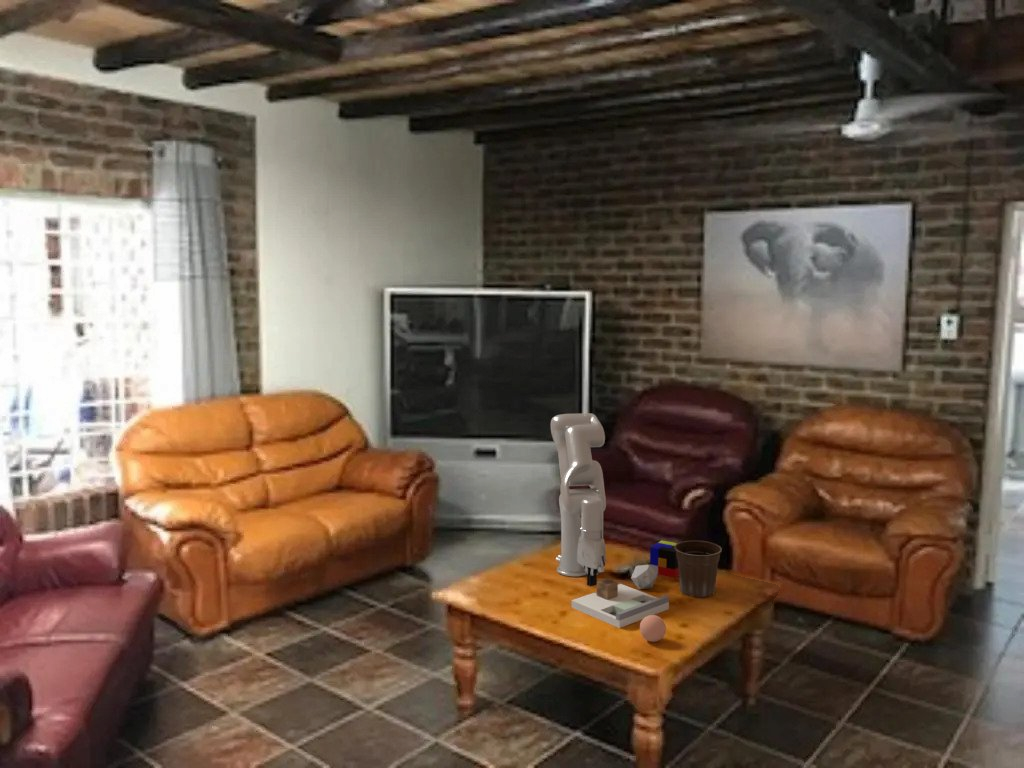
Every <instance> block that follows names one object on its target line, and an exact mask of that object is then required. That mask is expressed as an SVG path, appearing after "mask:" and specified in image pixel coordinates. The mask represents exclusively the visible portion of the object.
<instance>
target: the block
mask: <svg viewBox="0 0 1024 768" xmlns="http://www.w3.org/2000/svg"><path fill="white" fill-rule="evenodd" d="M618 585H619V582H618V581H616V580H613V579H610V578H604V579H601V580H598V581H597V584H596V592H597V596H599V597H601V598H604V599H606V600H609V599H612V598H614V597H617V596H618Z"/></svg>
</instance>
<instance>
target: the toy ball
mask: <svg viewBox="0 0 1024 768" xmlns="http://www.w3.org/2000/svg"><path fill="white" fill-rule="evenodd" d="M639 631H640V634H641V636H642V638H644V639H645V640H646V641H648V642H651V643H655V642H659V641H660V640H662V639H663V638H664V637H665V636H666V632H667V625H666V622H665V621H664V619H663V618H661V617H660V616H659V615H657V614H655V615H649V616H646V617H645V618H644V619H642V620H640V623H639Z"/></svg>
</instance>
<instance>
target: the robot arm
mask: <svg viewBox="0 0 1024 768" xmlns="http://www.w3.org/2000/svg"><path fill="white" fill-rule="evenodd" d="M550 432H551V437H552V440H553V442H554V444H555V447H556V450H557V454H558V455H557V456H558V465H559V466H558V468H559V476H560V481H561V482H560V488H559V489H560V494H559V496H558V504H559V512H560V521H561V526H560V530H561V531H560V535H561V541H560V542H561V543H560V545H561V548H560V549H561V553H560V554H558V555H557V556H556V557H555V561H556V562H558V563H559V565H558V566H557V567H556V571H557V573H558V574H561V575H563V576H566V577H576V578H577V577H582V576H586V586H588V587H593V586H597V579H598V578H597V577H598V576H597V575H598V574H599V573H604V572H605V566H606V564H607V562H606V560H607V554H606V552H607V551H606V544H605V539H604V512H605V510H606V507H607V501H606V491H605V482H604V481H605V480H604V473H603V469H602V466H601V464H600V463H599V462H598V461H597V460H594V459H593V457H592V452H591V450H592V449H591V448H601V447H603V446H604V444H605V440H606V435H605V434H606V433H605V430H604V427H603V425H602V424H601V422H600V420H599V419H598V417H597V416H596V415H595V414H594V413H590V412H589V413H588V412H585V413H582V412H581V413H563V414H561V413H560V414H556V415H555V416H553V417H552V418H551V420H550ZM581 486H583V487H584V486H589V487H590V488H573V489H571V488H570V487H581Z"/></svg>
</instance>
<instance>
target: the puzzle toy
mask: <svg viewBox="0 0 1024 768" xmlns="http://www.w3.org/2000/svg"><path fill="white" fill-rule="evenodd" d="M676 544H677V543H676V542H672V541H667V540H660V541H659V542H657V543H655V544H653V545H651V546H649V547H650V549H649V551H650V552H649V565H650V566H651V568H652V569H653V570H654V572H655V573H656V574H657V576H658V575H659V576H662V577H663V576H664V577H668V578H672V579H675V578H677V577H679V570H678V560H677V557H676V550H675V548H674V546H675V545H676Z"/></svg>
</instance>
